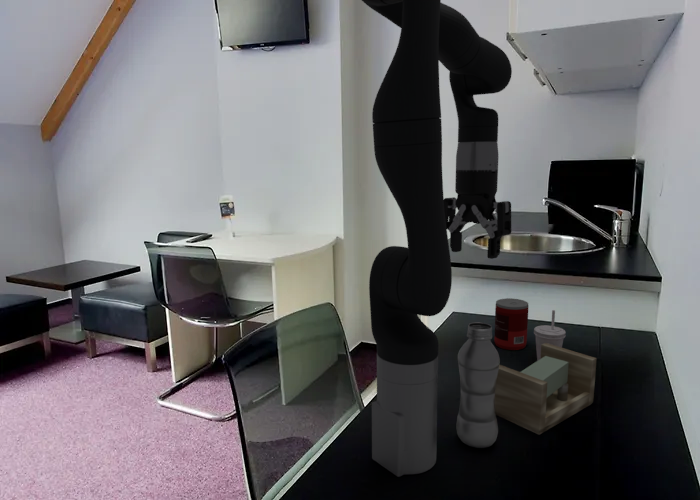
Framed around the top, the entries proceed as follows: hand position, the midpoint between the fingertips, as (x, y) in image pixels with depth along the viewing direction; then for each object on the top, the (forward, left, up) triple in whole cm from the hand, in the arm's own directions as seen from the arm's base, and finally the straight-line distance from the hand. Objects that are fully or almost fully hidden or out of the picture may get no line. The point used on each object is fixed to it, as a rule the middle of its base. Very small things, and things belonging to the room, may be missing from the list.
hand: (474, 254), depth 96 cm
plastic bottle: (-13, -12, -28) cm, 33 cm away
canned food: (+29, +11, -28) cm, 42 cm away
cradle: (+6, -12, -28) cm, 31 cm away
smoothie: (+21, -4, -28) cm, 35 cm away
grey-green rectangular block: (+6, -12, -24) cm, 28 cm away
